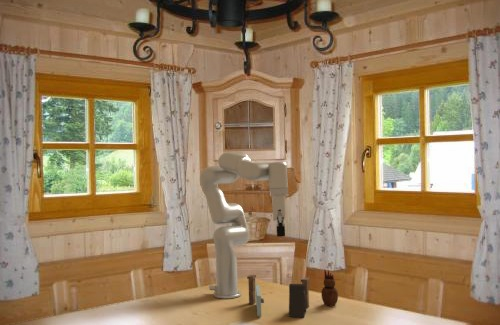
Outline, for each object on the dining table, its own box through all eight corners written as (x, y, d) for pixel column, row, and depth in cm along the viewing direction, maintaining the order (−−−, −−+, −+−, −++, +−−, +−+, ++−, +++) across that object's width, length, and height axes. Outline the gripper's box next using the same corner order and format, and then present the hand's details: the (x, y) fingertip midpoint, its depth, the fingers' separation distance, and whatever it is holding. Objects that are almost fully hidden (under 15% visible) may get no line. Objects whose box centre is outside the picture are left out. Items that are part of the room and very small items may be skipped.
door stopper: (303, 318, 203) (303, 287, 202) (288, 317, 204) (287, 286, 204) (306, 311, 211) (305, 281, 211) (291, 310, 213) (291, 281, 213)
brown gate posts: (247, 304, 223) (247, 276, 223) (250, 302, 227) (250, 274, 227) (308, 308, 214) (307, 279, 214) (310, 306, 218) (309, 277, 218)
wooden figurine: (319, 305, 220) (318, 269, 219) (327, 302, 224) (326, 267, 224) (332, 307, 215) (331, 271, 215) (340, 304, 219) (339, 269, 219)
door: (256, 303, 223) (255, 284, 222) (262, 303, 223) (262, 284, 223) (257, 316, 204) (257, 295, 204) (264, 316, 204) (263, 295, 204)
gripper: (270, 192, 219) (272, 232, 219) (269, 193, 202) (271, 238, 201) (287, 191, 219) (290, 232, 218) (288, 192, 201) (290, 237, 201)
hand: (281, 234), depth 210 cm, fingers open, 9 cm apart
